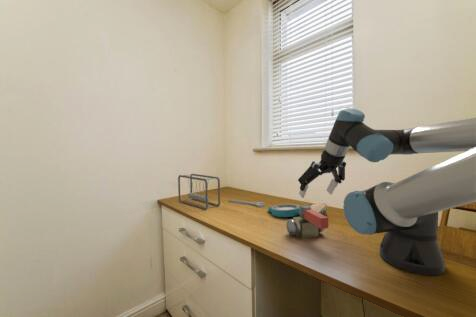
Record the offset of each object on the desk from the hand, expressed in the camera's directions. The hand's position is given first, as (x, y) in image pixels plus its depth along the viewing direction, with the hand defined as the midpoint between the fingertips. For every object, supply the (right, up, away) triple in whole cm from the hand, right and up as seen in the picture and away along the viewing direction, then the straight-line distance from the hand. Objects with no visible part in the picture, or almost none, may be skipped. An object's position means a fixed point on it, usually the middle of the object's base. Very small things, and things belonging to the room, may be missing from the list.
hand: (315, 193), depth 85 cm
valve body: (-5, -16, -4) cm, 17 cm away
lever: (-4, -9, -9) cm, 13 cm away
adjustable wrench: (-27, -14, +43) cm, 52 cm away
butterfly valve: (-3, -15, +18) cm, 24 cm away
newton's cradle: (-57, -14, +43) cm, 73 cm away
